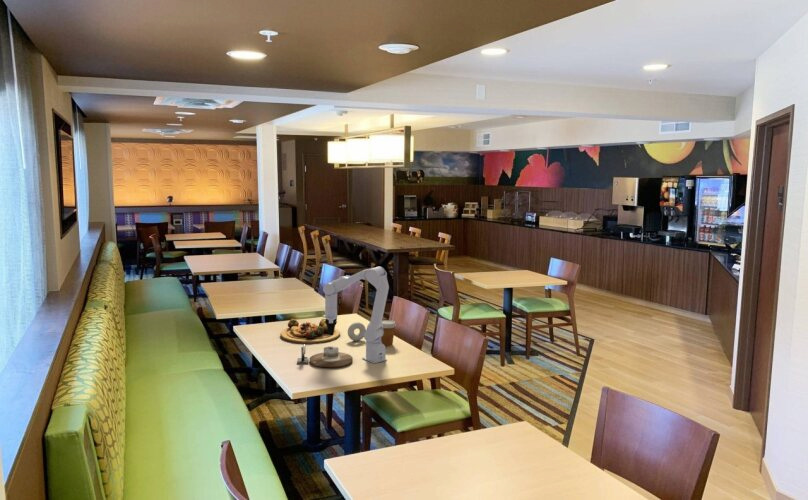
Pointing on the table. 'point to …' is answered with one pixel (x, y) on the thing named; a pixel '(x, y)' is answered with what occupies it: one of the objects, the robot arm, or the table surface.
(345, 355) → the turntable
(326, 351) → the cover
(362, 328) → the donut
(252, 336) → the table surface
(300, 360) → the dial gauge
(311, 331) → the wooden plate with food
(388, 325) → the disposable coffee cup
